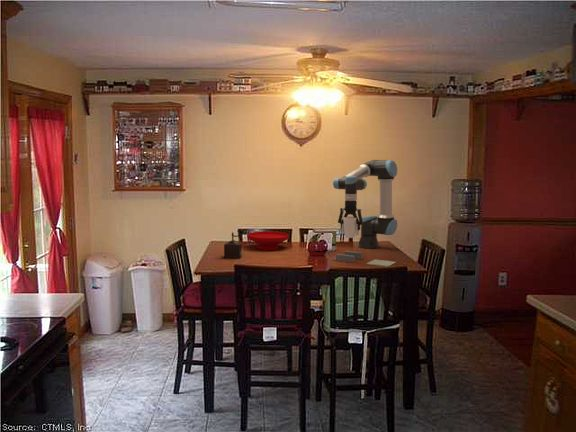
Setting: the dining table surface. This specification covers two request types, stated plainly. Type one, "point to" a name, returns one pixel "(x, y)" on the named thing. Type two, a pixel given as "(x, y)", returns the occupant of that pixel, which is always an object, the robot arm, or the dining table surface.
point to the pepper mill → (233, 247)
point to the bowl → (268, 239)
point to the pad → (381, 263)
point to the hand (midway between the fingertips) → (350, 234)
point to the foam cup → (349, 226)
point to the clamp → (348, 256)
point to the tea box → (328, 232)
